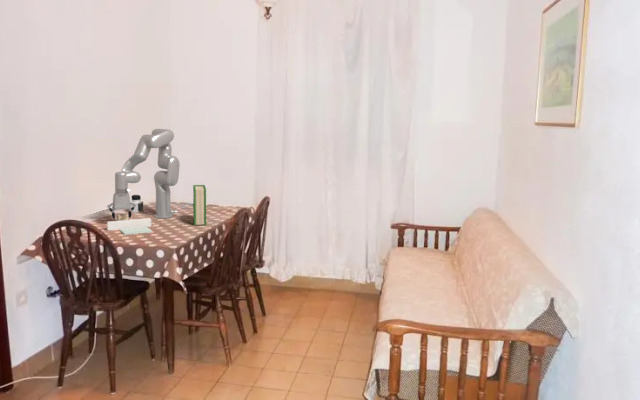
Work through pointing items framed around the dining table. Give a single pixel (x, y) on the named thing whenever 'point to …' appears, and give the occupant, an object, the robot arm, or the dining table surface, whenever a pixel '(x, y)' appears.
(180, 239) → the dining table surface
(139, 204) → the medicine bottle
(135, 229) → the sage mat
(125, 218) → the maple letter block
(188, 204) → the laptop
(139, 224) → the off-white screen
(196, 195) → the hardback book
